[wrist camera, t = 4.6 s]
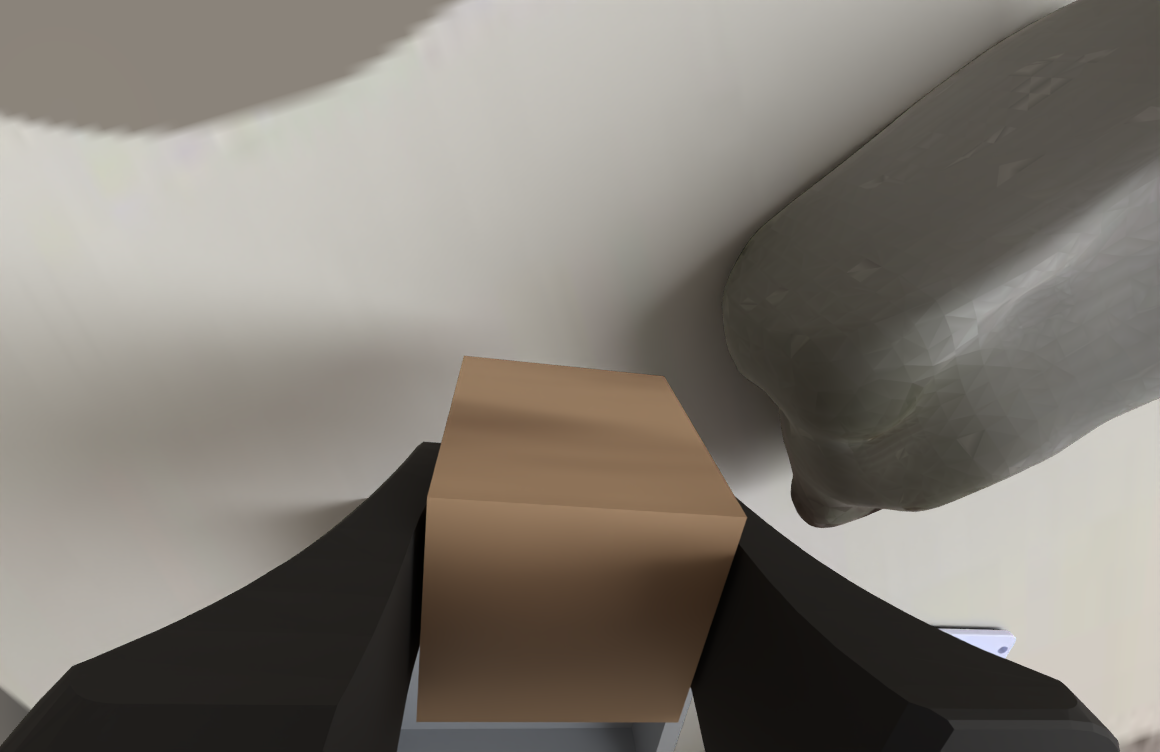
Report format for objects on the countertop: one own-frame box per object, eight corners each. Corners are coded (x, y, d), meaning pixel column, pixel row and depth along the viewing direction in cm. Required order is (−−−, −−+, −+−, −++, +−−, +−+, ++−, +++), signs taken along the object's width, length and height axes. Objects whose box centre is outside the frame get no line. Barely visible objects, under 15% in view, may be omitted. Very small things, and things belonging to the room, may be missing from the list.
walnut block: (627, 532, 14) (677, 722, 10) (451, 523, 13) (416, 722, 9) (664, 376, 12) (746, 517, 8) (464, 355, 12) (427, 497, 7)
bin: (641, 726, 28) (656, 801, 25) (370, 727, 26) (350, 809, 23) (702, 517, 23) (731, 579, 20) (368, 498, 21) (341, 564, 18)
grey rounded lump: (790, 502, 23) (912, 666, 16) (641, 308, 19) (716, 413, 12) (1212, 228, 20) (1599, 279, 13) (1146, -80, 16) (1670, -259, 9)
